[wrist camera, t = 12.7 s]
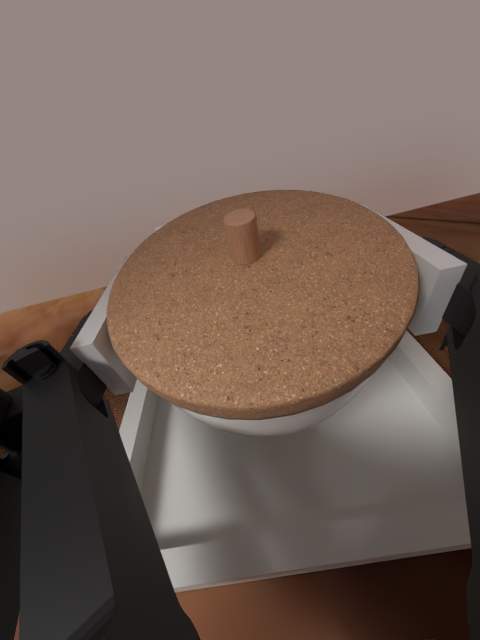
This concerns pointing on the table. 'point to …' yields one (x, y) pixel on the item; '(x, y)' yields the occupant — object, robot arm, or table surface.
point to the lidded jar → (264, 308)
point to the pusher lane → (305, 481)
